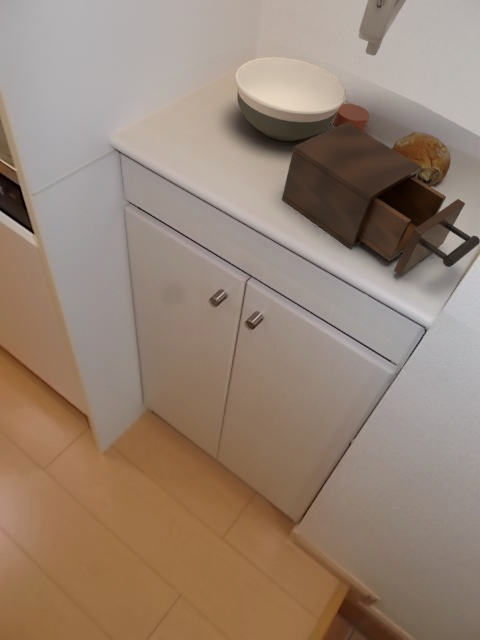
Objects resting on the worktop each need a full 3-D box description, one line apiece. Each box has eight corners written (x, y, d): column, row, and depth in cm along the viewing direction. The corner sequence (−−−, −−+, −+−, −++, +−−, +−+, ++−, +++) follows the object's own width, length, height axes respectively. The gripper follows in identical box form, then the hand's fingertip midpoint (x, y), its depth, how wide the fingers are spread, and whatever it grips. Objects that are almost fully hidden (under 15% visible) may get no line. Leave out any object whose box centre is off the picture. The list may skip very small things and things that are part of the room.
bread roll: (438, 191, 92) (461, 146, 89) (433, 195, 84) (459, 146, 80) (386, 169, 95) (407, 125, 91) (376, 171, 86) (399, 122, 83)
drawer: (470, 262, 74) (496, 221, 68) (429, 296, 68) (454, 255, 63) (375, 199, 81) (391, 157, 75) (330, 225, 75) (344, 183, 70)
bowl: (293, 94, 101) (303, 51, 95) (354, 145, 92) (369, 101, 86) (210, 110, 93) (214, 64, 87) (267, 168, 84) (276, 120, 78)
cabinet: (398, 217, 80) (421, 166, 73) (350, 249, 74) (370, 196, 67) (331, 173, 85) (347, 122, 79) (281, 199, 79) (293, 146, 72)
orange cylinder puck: (346, 113, 99) (350, 100, 97) (371, 128, 97) (376, 114, 95) (326, 122, 96) (330, 108, 94) (351, 137, 94) (356, 124, 92)
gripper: (412, -22, 69) (377, 81, 79) (433, -57, 82) (401, 36, 92) (366, -35, 70) (337, 69, 80) (394, -67, 83) (367, 26, 93)
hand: (372, 51), depth 86 cm, fingers closed
